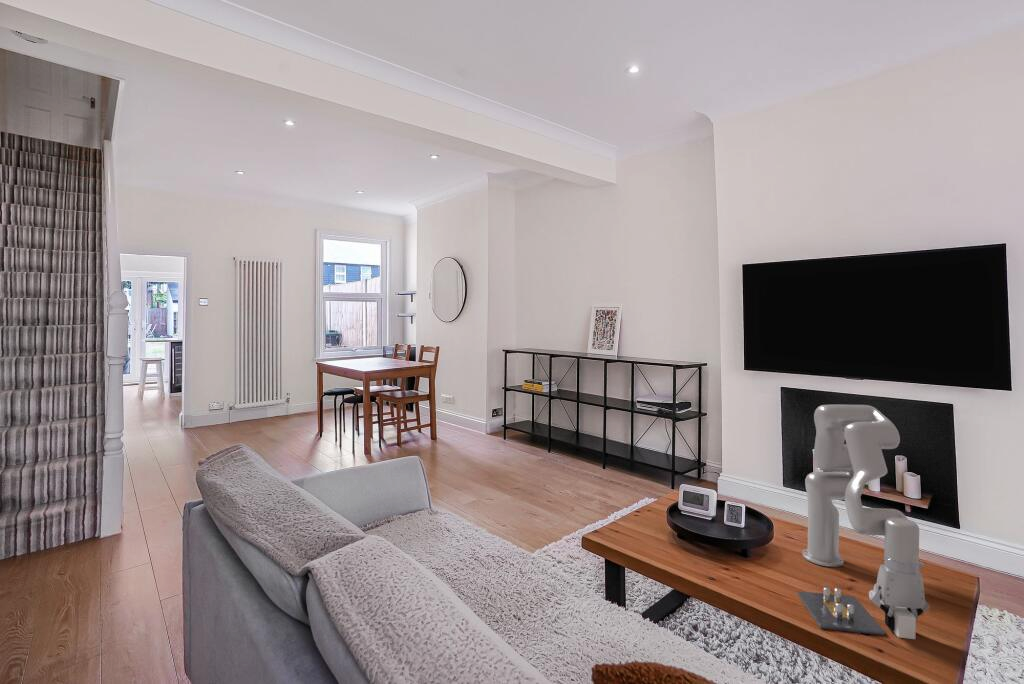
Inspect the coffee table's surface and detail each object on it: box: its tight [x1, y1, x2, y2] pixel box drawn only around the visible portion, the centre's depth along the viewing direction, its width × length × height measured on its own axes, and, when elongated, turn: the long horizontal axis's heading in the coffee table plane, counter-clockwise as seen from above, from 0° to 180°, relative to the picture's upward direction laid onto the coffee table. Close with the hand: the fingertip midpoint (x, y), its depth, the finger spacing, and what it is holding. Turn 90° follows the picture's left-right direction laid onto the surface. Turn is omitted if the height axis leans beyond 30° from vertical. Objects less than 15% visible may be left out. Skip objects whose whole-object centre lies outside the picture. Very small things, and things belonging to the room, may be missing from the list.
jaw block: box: [892, 607, 917, 640], centre depth 138 cm, size 6×4×6 cm, turn 168°
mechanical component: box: [868, 583, 884, 605], centre depth 153 cm, size 10×4×10 cm
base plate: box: [797, 586, 886, 636], centre depth 147 cm, size 18×16×5 cm
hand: (899, 628), depth 138 cm, fingers closed on jaw block, 3 cm apart
